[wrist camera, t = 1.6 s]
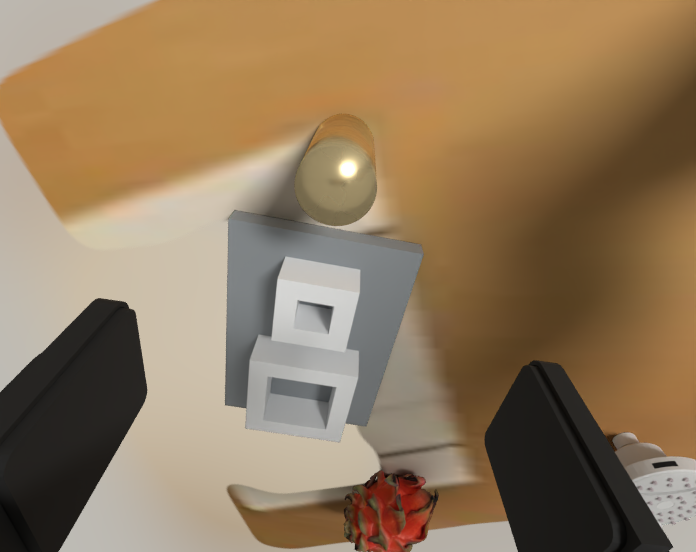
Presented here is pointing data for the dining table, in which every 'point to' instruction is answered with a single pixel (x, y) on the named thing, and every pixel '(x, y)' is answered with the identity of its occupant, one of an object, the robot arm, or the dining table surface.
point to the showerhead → (659, 478)
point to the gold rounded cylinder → (338, 172)
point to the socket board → (311, 322)
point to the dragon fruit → (389, 513)
